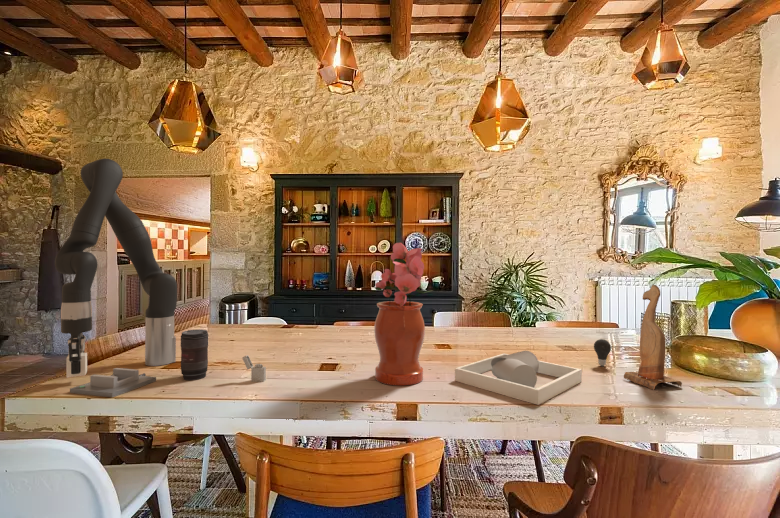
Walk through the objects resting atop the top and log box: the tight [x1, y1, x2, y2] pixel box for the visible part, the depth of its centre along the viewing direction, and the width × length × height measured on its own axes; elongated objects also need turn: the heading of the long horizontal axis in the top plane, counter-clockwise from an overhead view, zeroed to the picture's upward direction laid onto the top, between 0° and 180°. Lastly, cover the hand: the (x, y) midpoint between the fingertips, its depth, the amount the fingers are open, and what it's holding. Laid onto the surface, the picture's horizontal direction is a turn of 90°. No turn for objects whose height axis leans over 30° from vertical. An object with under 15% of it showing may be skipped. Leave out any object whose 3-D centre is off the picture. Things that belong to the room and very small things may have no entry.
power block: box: [69, 367, 157, 398], centre depth 118 cm, size 18×15×4 cm
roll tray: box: [454, 353, 583, 406], centre depth 125 cm, size 30×28×4 cm
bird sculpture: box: [623, 284, 683, 390], centre depth 124 cm, size 11×12×32 cm
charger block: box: [65, 352, 88, 378], centre depth 120 cm, size 4×4×6 cm
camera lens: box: [180, 329, 209, 381], centre depth 126 cm, size 8×8×15 cm
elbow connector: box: [491, 350, 539, 388], centre depth 125 cm, size 18×11×20 cm
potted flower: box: [373, 242, 434, 387], centre depth 128 cm, size 19×25×45 cm
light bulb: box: [593, 338, 612, 367], centre depth 144 cm, size 6×6×10 cm
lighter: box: [242, 354, 267, 383], centre depth 124 cm, size 7×2×8 cm, turn 86°
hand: (77, 371), depth 120 cm, fingers closed on charger block, 4 cm apart
